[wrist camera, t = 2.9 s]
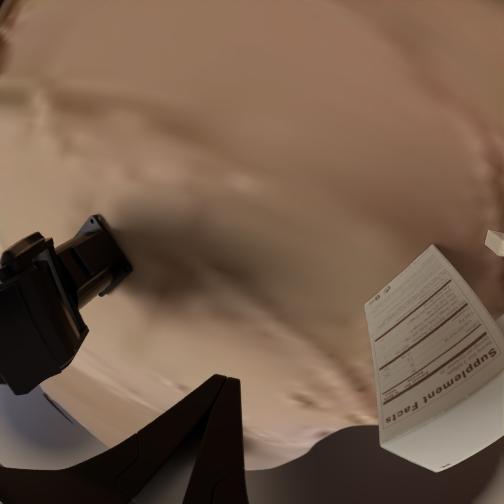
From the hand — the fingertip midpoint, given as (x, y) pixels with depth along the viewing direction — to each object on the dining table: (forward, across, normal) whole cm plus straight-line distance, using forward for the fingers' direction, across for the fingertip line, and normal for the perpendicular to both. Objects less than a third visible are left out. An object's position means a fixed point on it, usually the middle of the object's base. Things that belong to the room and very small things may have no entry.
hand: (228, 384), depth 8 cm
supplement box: (+13, -12, +4) cm, 18 cm away
